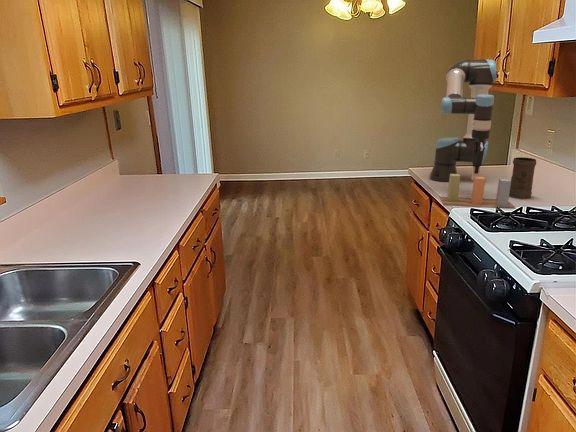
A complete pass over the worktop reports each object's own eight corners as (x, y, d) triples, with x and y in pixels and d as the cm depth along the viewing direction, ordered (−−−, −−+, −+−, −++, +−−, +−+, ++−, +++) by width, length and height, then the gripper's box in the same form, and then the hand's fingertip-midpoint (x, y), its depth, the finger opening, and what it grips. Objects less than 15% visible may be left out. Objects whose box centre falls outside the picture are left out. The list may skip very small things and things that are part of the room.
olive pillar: (447, 198, 218) (449, 173, 214) (456, 198, 218) (458, 174, 214) (448, 200, 214) (451, 175, 211) (457, 201, 214) (460, 176, 210)
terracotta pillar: (471, 201, 213) (474, 176, 209) (480, 202, 212) (483, 176, 208) (472, 204, 209) (476, 178, 205) (482, 204, 208) (485, 178, 205)
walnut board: (438, 199, 221) (438, 196, 221) (506, 201, 216) (507, 199, 216) (443, 208, 207) (443, 205, 207) (516, 211, 202) (516, 208, 202)
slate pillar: (495, 204, 208) (499, 178, 205) (504, 204, 208) (508, 179, 204) (497, 207, 205) (501, 180, 201) (507, 207, 204) (511, 181, 200)
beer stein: (534, 202, 215) (540, 160, 210) (510, 201, 217) (515, 159, 212) (524, 196, 230) (530, 156, 225) (502, 195, 232) (507, 155, 227)
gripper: (469, 127, 216) (463, 176, 223) (475, 131, 203) (469, 182, 211) (486, 127, 214) (479, 177, 222) (493, 131, 202) (486, 183, 210)
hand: (474, 179), depth 216 cm, fingers closed
